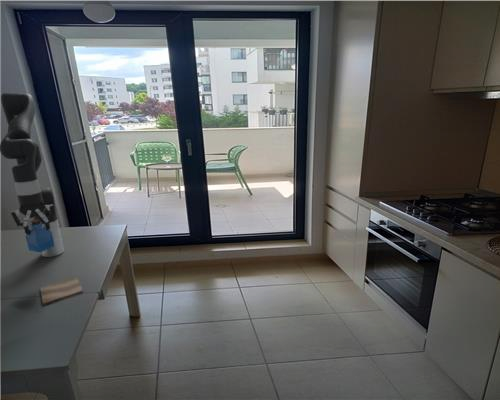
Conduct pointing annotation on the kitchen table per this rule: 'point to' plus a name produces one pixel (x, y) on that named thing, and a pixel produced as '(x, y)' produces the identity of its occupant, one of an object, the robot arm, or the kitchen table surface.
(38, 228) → the perfume bottle
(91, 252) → the kitchen table surface
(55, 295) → the walnut board
